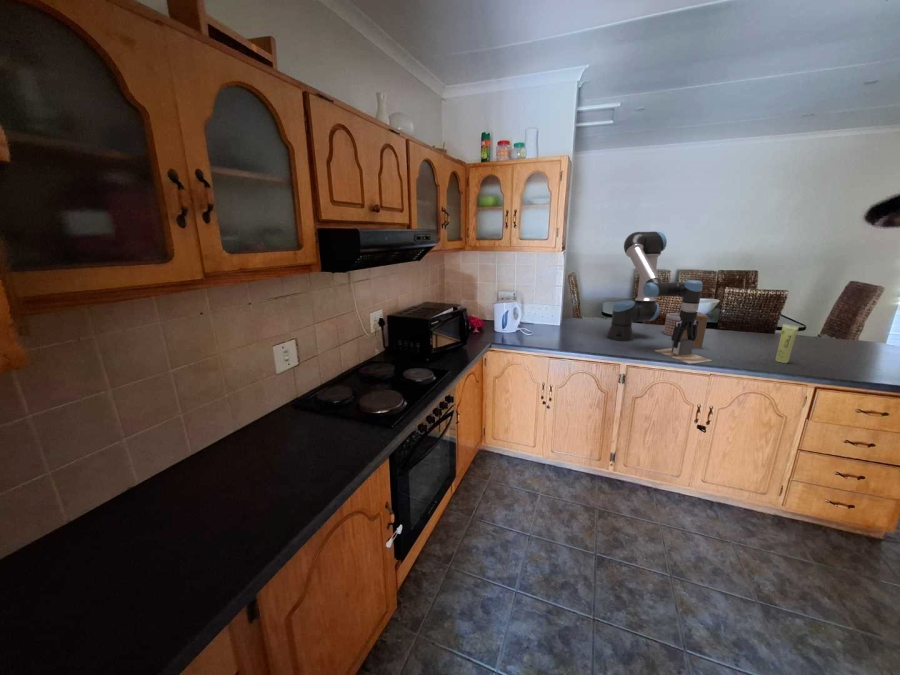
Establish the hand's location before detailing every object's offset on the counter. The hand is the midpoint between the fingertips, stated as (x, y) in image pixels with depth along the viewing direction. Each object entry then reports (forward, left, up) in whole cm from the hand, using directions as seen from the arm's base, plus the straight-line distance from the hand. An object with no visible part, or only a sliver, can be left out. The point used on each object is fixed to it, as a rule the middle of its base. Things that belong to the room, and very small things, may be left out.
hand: (681, 352), depth 190 cm
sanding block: (0, 0, -1) cm, 1 cm away
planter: (-35, +35, -3) cm, 49 cm away
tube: (+21, +42, -2) cm, 47 cm away
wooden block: (-12, +19, -3) cm, 22 cm away
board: (0, 0, -2) cm, 2 cm away
